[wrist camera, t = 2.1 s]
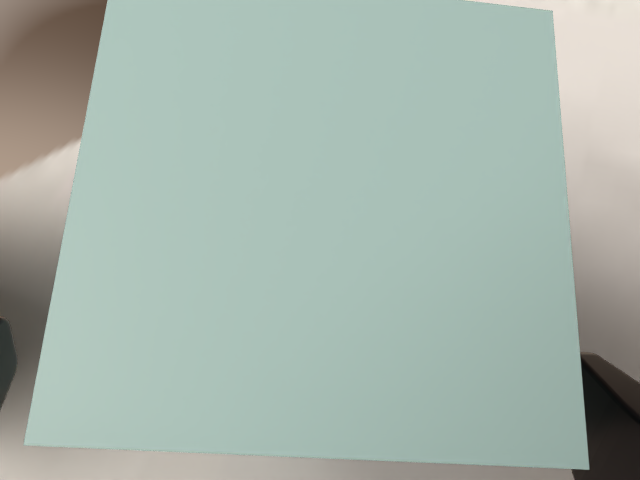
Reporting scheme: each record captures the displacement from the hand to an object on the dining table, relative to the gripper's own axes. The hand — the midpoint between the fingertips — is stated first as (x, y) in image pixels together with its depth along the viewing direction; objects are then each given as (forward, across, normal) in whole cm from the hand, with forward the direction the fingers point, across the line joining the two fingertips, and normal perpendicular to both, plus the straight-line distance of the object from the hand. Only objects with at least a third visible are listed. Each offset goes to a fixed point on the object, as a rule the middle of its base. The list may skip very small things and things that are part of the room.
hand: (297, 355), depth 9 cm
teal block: (+7, 0, +6) cm, 9 cm away
